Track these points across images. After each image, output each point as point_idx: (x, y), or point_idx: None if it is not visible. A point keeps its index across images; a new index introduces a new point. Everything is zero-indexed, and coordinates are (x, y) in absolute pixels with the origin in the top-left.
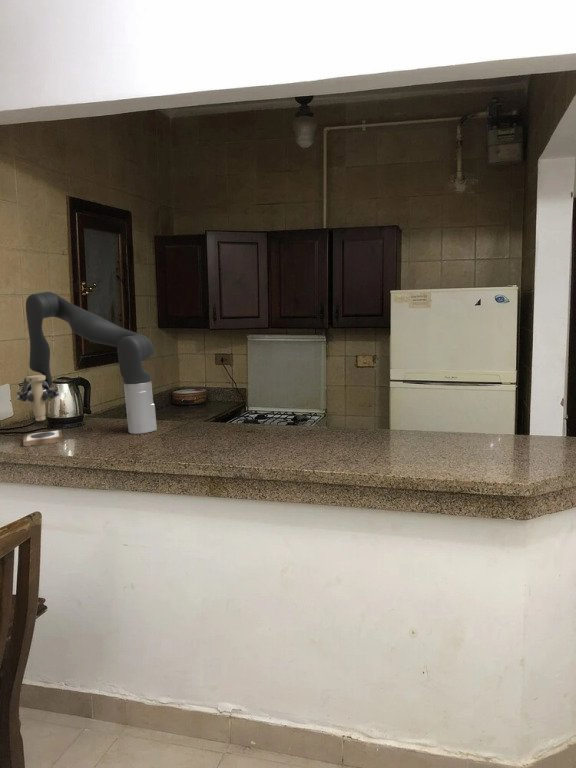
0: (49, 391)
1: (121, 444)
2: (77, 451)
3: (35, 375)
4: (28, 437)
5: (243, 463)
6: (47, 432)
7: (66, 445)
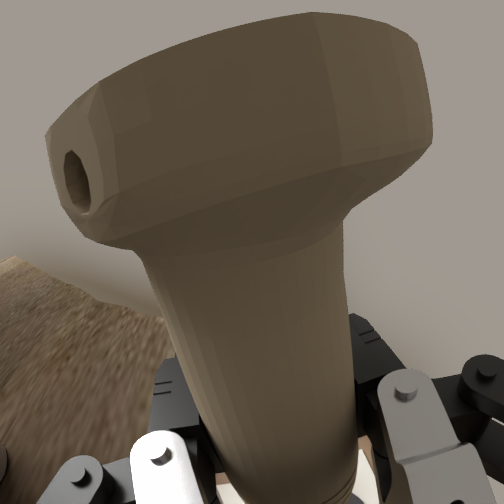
0: (103, 473)
1: (71, 378)
2: None
3: (210, 51)
4: (377, 501)
5: (45, 279)
6: None
7: None
